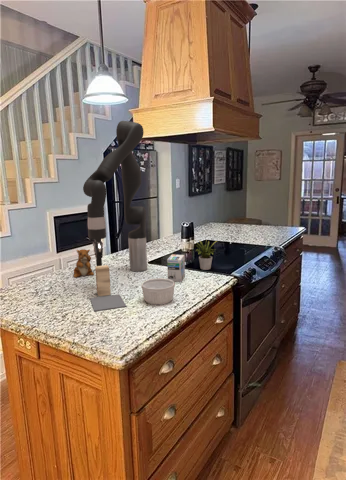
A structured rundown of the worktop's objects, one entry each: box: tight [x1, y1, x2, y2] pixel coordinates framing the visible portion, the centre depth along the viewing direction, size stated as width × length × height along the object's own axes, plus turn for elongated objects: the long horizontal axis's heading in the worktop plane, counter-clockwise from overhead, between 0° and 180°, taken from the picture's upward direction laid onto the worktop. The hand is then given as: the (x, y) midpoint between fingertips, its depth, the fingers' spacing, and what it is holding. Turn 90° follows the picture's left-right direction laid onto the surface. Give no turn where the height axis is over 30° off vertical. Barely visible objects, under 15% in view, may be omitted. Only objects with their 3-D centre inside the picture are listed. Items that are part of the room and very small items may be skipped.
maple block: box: [95, 264, 112, 297], centre depth 142 cm, size 5×5×12 cm
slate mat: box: [89, 293, 127, 312], centre depth 134 cm, size 14×12×1 cm
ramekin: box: [141, 277, 176, 305], centre depth 136 cm, size 13×13×7 cm
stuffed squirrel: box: [73, 248, 95, 279], centre depth 174 cm, size 10×14×13 cm
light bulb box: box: [166, 254, 186, 283], centre depth 163 cm, size 11×7×11 cm, turn 168°
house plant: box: [192, 239, 218, 271], centre depth 179 cm, size 14×14×16 cm
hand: (99, 266), depth 150 cm, fingers closed
